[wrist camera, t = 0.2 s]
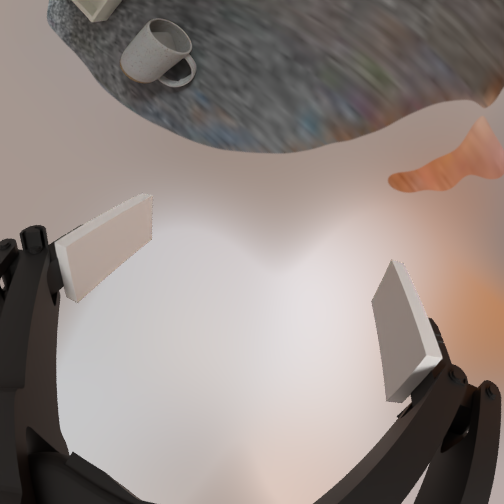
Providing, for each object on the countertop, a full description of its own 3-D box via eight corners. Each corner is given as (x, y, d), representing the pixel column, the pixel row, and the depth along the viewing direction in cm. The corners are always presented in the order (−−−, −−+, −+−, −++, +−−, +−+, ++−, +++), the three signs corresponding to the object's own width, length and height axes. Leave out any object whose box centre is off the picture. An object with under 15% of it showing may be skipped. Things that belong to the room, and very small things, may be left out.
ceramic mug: (138, 50, 31) (105, 59, 26) (172, 16, 26) (139, 18, 21) (175, 95, 36) (146, 110, 31) (213, 64, 31) (187, 72, 26)
